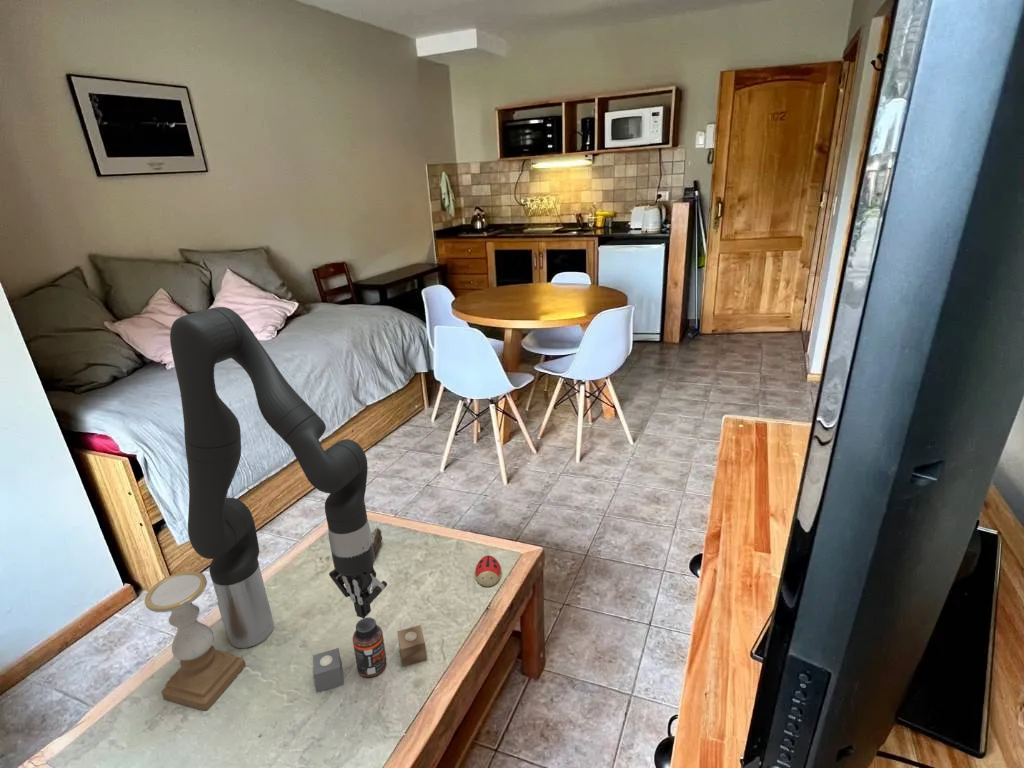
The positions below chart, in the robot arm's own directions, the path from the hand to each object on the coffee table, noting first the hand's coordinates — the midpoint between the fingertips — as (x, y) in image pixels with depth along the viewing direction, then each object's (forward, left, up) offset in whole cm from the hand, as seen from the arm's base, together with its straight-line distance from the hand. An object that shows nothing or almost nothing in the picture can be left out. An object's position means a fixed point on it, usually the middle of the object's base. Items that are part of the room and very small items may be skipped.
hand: (363, 614), depth 108 cm
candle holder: (-29, -17, -14) cm, 36 cm away
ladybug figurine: (+9, +34, -14) cm, 38 cm away
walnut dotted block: (+6, +6, -14) cm, 16 cm away
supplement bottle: (0, 0, -14) cm, 14 cm away
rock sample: (-25, +28, -14) cm, 40 cm away
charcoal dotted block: (-6, -6, -14) cm, 16 cm away
